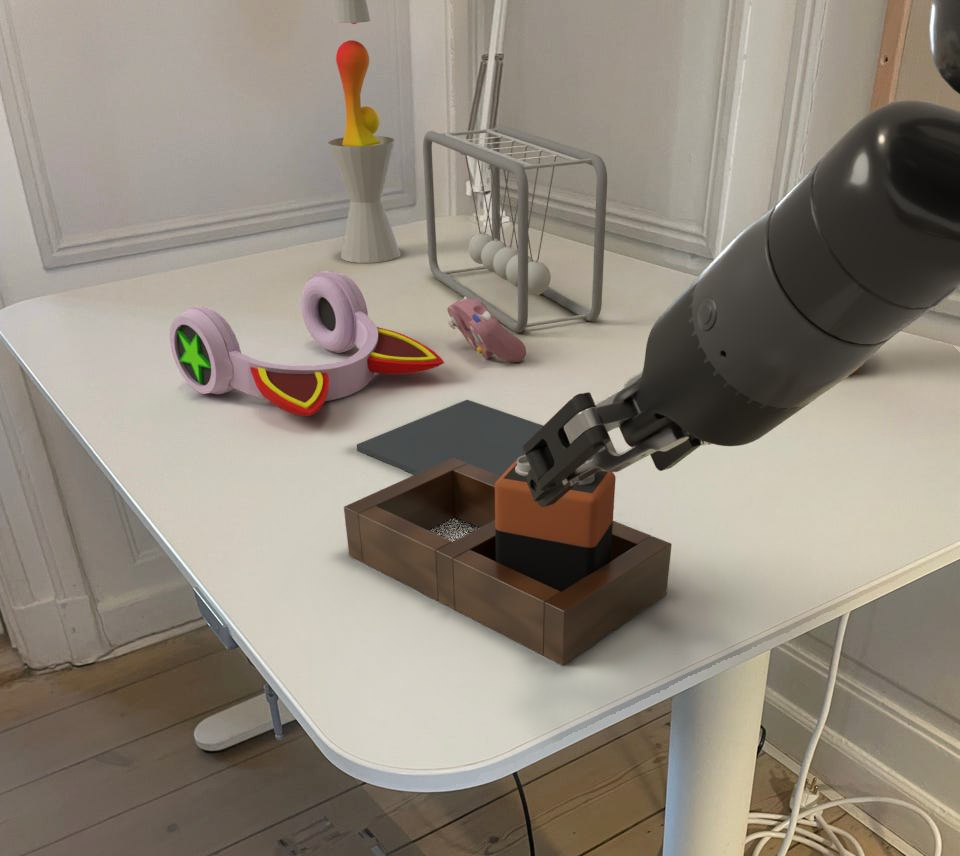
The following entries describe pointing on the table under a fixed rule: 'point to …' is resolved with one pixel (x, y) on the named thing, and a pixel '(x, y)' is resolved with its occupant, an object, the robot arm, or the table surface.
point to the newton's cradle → (496, 253)
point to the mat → (455, 439)
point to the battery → (554, 528)
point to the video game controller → (484, 331)
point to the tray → (490, 585)
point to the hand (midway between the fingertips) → (599, 472)
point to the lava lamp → (361, 152)
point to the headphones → (298, 389)
